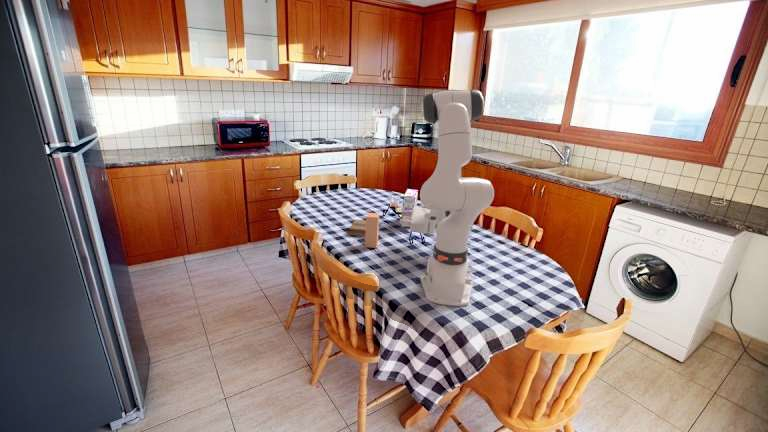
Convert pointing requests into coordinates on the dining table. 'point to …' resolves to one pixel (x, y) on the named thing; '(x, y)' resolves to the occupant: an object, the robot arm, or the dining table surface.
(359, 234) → the walnut riser
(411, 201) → the candy box
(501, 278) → the dining table surface
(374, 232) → the terracotta block
